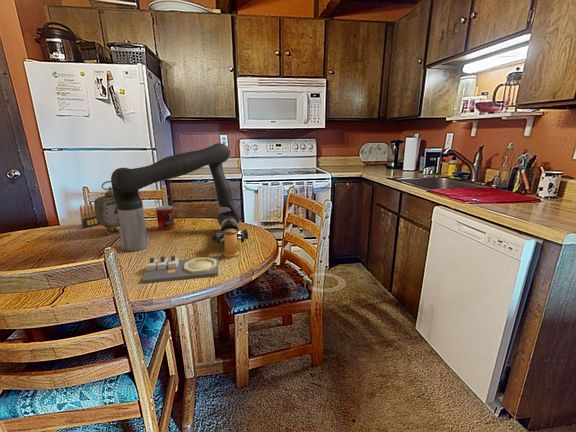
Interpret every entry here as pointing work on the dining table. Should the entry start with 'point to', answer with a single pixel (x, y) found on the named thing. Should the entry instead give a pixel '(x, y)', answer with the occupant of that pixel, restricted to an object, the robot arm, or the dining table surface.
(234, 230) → the cap
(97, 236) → the dining table surface
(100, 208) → the tabletop clock
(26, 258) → the dining table surface
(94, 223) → the ammunition clip
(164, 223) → the canned food
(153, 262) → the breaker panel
